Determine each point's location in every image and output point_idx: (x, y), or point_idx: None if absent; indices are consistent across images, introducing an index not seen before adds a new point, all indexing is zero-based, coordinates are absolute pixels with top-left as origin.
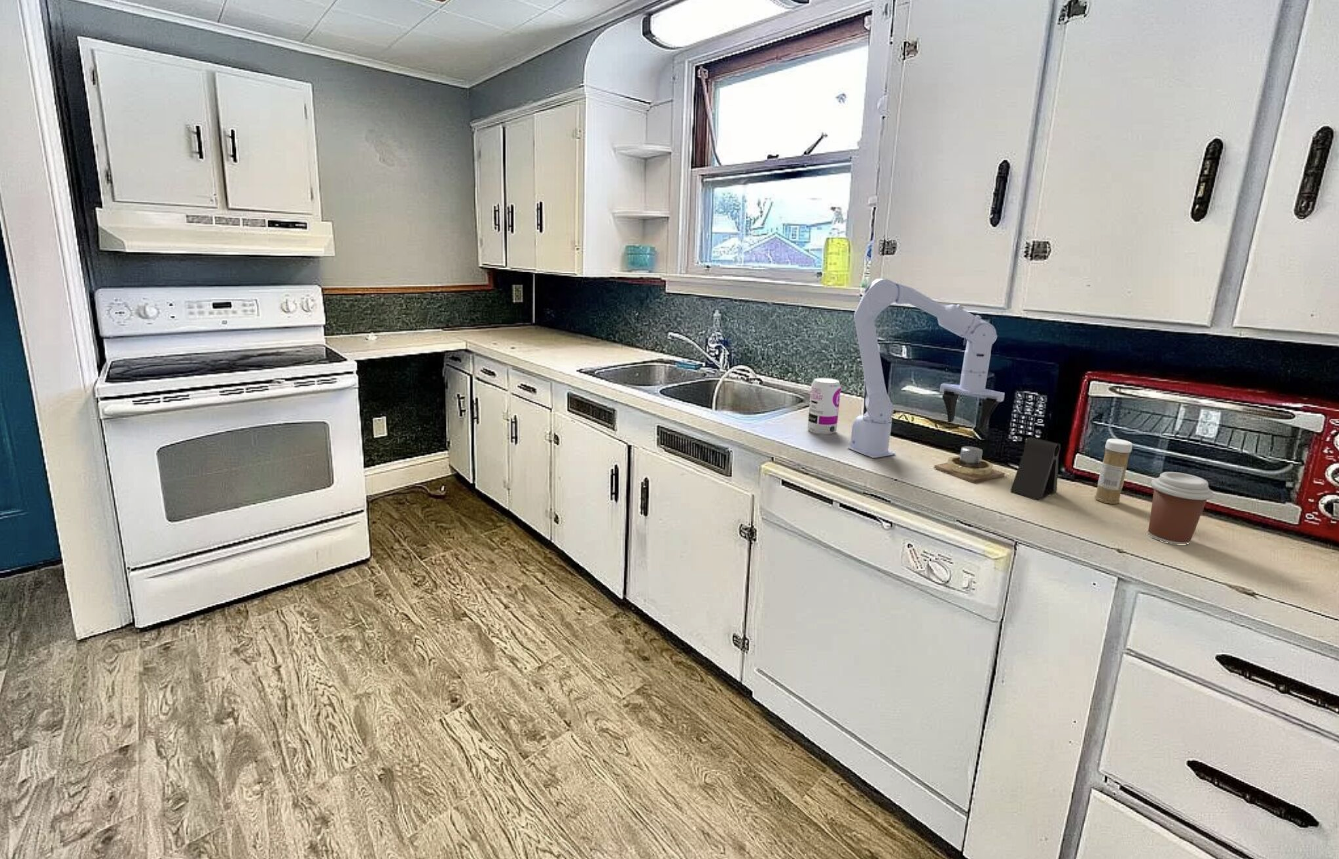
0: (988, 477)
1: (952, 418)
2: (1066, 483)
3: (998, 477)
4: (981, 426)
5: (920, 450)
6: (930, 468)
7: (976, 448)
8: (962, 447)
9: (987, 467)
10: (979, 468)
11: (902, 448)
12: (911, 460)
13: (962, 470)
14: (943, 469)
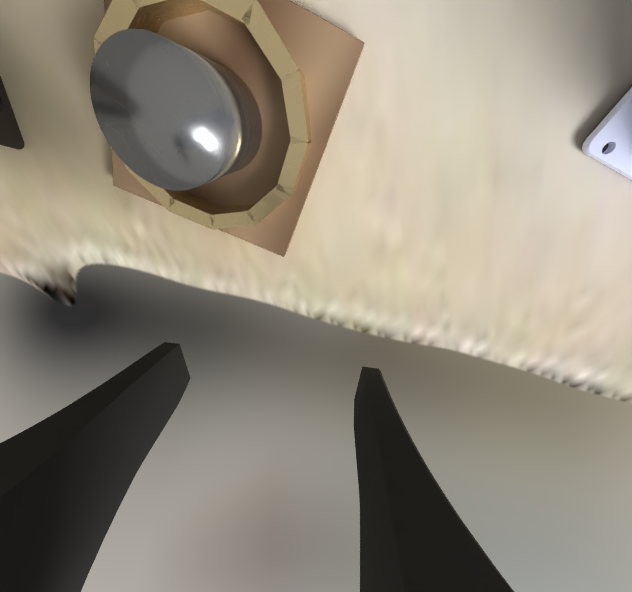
0: None
1: (358, 404)
2: (5, 249)
3: None
4: (157, 349)
5: (452, 290)
6: (379, 30)
7: (156, 168)
8: (216, 119)
9: None
10: None
11: (527, 272)
12: (489, 111)
13: None
14: (307, 12)
